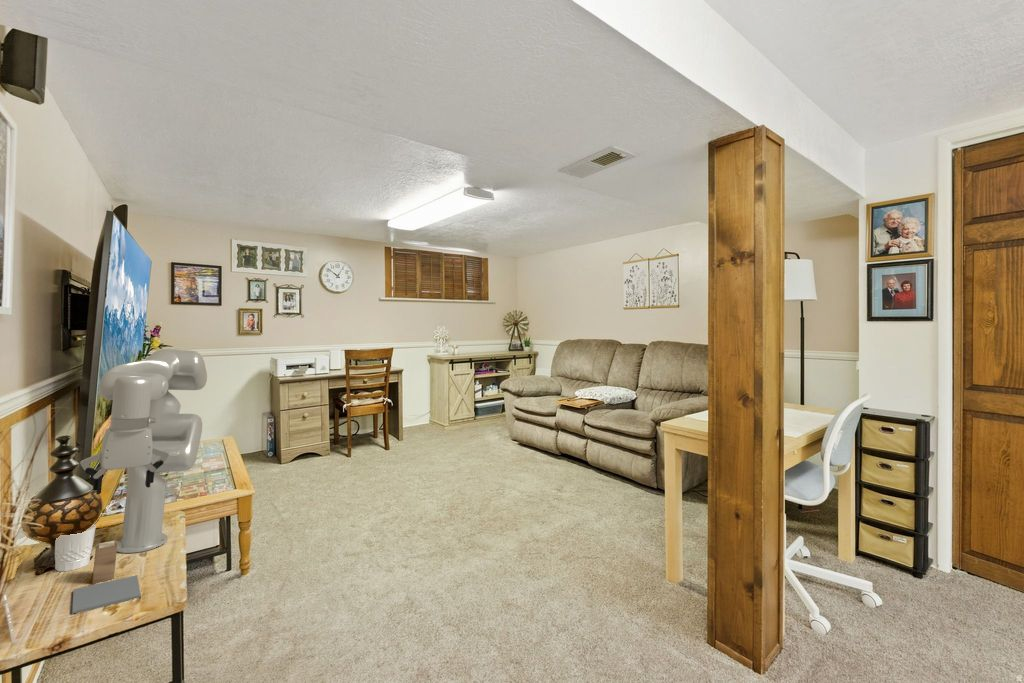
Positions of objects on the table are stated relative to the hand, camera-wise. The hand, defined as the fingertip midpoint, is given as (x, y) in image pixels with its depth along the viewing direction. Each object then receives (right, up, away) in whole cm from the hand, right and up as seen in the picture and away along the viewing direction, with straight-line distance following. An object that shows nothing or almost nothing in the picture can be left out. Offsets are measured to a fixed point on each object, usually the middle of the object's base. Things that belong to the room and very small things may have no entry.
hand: (123, 489), depth 114 cm
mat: (+1, -24, -5) cm, 25 cm away
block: (-7, -24, +1) cm, 25 cm away
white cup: (-20, -24, +7) cm, 32 cm away
